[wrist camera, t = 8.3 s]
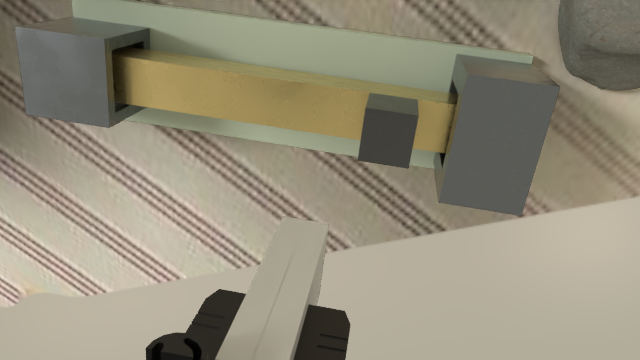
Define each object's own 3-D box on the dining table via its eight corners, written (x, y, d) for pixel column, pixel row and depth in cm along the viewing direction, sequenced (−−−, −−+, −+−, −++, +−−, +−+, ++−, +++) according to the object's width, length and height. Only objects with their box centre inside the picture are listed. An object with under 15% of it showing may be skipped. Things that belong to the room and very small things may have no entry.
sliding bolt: (107, 87, 38) (48, 111, 32) (104, 43, 37) (42, 59, 31) (487, 144, 36) (505, 183, 29) (499, 99, 34) (520, 130, 28)
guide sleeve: (79, 93, 40) (25, 114, 35) (73, 17, 38) (14, 26, 32) (151, 104, 40) (109, 127, 34) (149, 27, 37) (104, 38, 32)
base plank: (89, 109, 42) (80, 113, 41) (80, -7, 38) (71, -6, 37) (497, 173, 39) (500, 179, 38) (529, 53, 35) (533, 56, 34)
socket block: (433, 162, 38) (438, 202, 32) (456, 53, 35) (467, 73, 28) (501, 173, 38) (521, 215, 31) (531, 64, 34) (560, 86, 28)
